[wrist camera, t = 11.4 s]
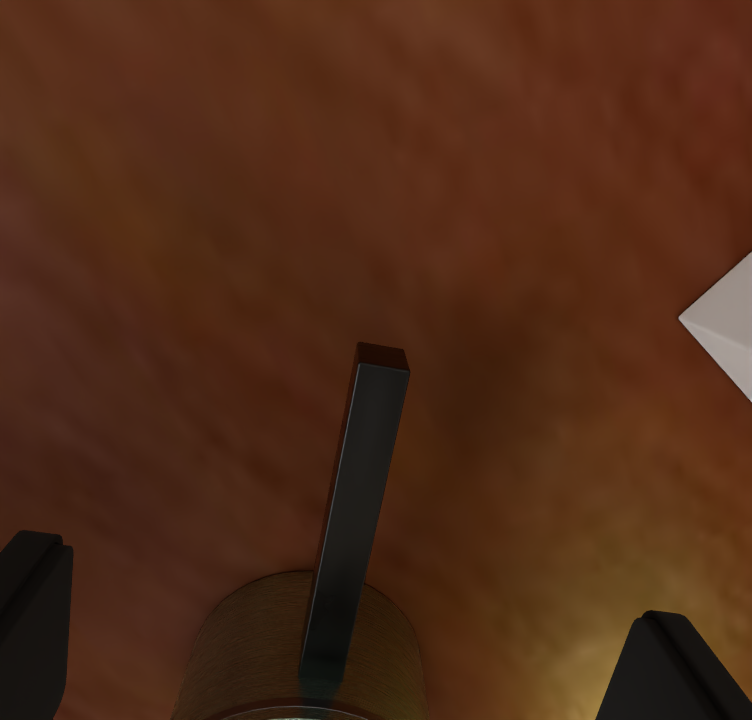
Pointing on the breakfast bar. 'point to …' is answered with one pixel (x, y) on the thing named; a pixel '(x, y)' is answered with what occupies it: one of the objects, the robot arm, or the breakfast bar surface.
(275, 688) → the saucepan
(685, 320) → the milk
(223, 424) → the breakfast bar surface
